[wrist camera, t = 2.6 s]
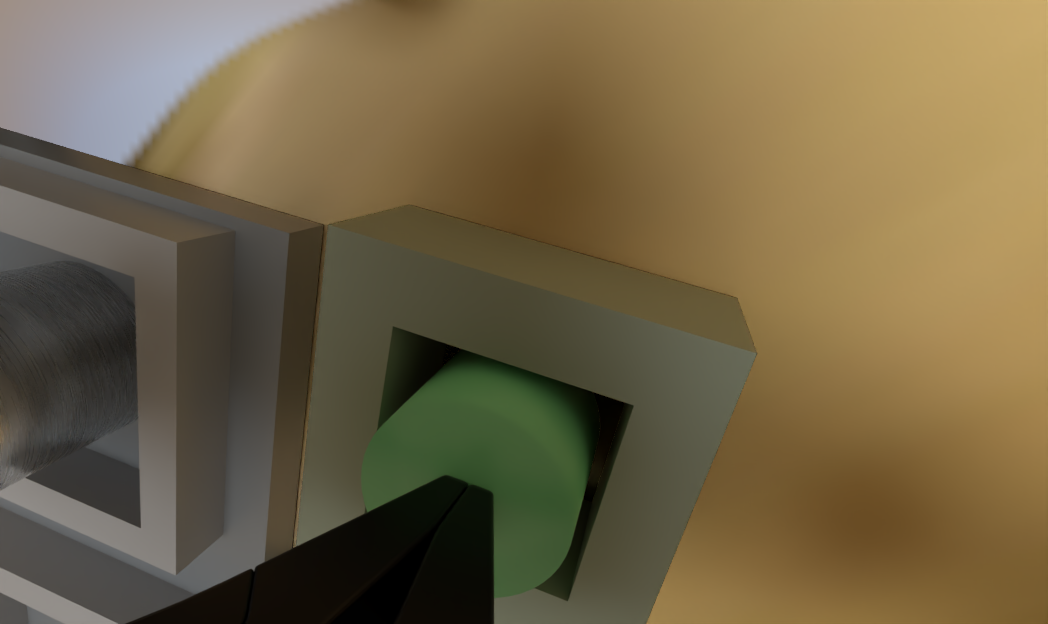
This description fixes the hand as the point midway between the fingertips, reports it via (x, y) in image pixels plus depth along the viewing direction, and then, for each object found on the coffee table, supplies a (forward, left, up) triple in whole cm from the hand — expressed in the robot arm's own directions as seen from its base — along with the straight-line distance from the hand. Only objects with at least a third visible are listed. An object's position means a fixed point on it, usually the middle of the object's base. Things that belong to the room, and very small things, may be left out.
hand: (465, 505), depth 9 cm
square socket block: (0, 0, -4) cm, 4 cm away
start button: (0, 0, -3) cm, 3 cm away
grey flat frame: (+11, +7, -4) cm, 14 cm away
